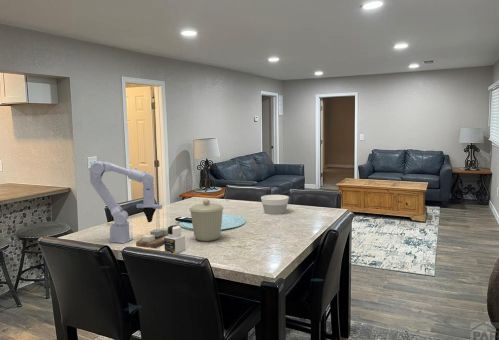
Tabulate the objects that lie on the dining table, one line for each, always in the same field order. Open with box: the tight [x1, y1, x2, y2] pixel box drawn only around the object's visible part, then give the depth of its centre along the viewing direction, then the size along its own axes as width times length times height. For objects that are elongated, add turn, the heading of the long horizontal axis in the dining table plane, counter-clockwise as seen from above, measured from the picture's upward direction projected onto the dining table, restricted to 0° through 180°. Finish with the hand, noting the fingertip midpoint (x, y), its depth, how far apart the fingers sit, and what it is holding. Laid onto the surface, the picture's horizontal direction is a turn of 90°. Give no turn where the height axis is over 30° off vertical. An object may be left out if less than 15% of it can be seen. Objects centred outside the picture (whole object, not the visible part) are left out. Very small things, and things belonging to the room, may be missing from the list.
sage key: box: [158, 227, 168, 235], centre depth 210 cm, size 5×5×2 cm
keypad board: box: [135, 233, 182, 249], centre depth 203 cm, size 12×22×2 cm, turn 157°
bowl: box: [260, 194, 290, 216], centre depth 266 cm, size 19×19×11 cm
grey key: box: [149, 228, 163, 237], centre depth 203 cm, size 5×5×2 cm
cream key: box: [141, 233, 155, 242], centre depth 197 cm, size 5×5×2 cm
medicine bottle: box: [163, 224, 186, 254], centre depth 186 cm, size 7×7×12 cm
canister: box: [188, 198, 225, 242], centre depth 204 cm, size 18×18×21 cm
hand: (149, 221), depth 206 cm, fingers closed
